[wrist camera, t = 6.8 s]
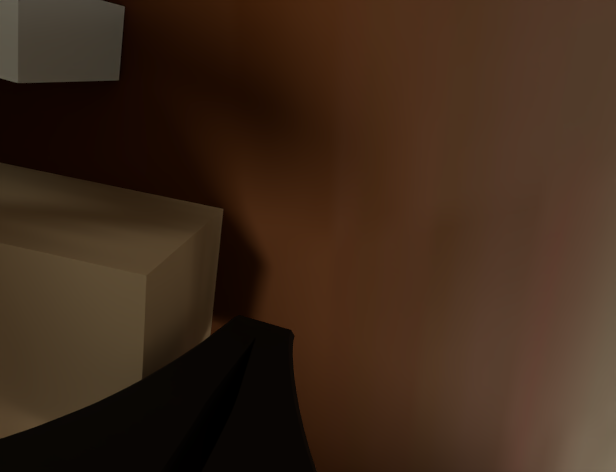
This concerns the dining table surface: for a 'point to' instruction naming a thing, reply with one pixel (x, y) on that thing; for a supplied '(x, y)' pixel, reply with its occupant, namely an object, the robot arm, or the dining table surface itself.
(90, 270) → the maple block
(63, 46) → the bracket
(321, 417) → the dining table surface
